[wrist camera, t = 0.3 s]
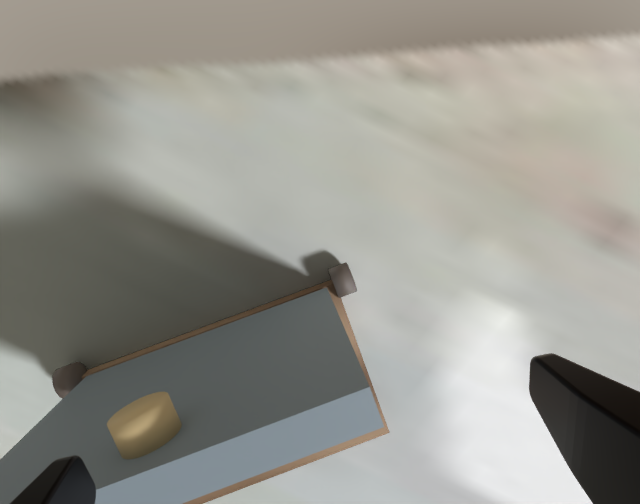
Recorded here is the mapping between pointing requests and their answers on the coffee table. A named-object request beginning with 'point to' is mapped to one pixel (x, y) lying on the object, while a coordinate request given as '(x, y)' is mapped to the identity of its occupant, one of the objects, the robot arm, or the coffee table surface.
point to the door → (207, 409)
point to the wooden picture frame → (337, 287)
